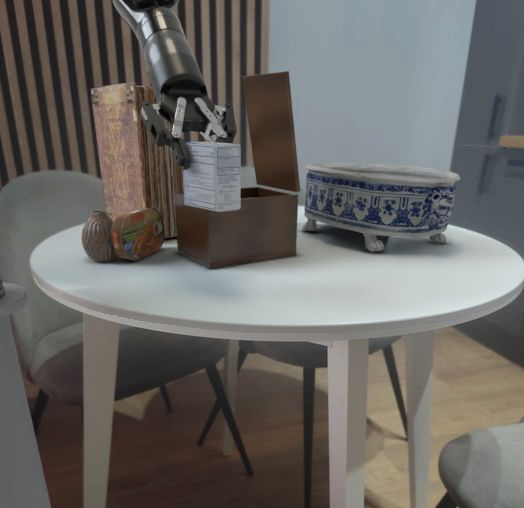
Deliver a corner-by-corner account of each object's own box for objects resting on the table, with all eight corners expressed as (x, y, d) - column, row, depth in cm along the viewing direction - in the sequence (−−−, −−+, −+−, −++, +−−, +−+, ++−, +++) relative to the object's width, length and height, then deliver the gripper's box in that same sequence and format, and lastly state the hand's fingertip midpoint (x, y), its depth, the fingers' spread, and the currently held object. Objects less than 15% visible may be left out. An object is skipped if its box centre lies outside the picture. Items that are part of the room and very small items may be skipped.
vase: (76, 262, 90) (69, 213, 87) (98, 253, 96) (92, 207, 93) (109, 265, 89) (103, 215, 85) (130, 256, 95) (125, 209, 91)
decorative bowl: (270, 226, 122) (272, 161, 116) (352, 216, 135) (357, 158, 129) (397, 266, 90) (408, 179, 84) (489, 249, 103) (505, 173, 96)
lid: (284, 71, 82) (288, 70, 82) (241, 76, 92) (245, 75, 92) (296, 192, 91) (300, 191, 92) (256, 184, 102) (260, 183, 102)
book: (187, 238, 109) (179, 84, 97) (148, 243, 104) (134, 81, 92) (141, 220, 128) (129, 89, 115) (106, 223, 123) (90, 87, 111)
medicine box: (241, 210, 70) (242, 144, 67) (216, 213, 67) (216, 144, 64) (207, 203, 75) (206, 141, 72) (183, 205, 73) (181, 141, 69)
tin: (126, 265, 89) (121, 217, 85) (111, 264, 90) (105, 216, 86) (167, 247, 102) (164, 205, 98) (153, 246, 102) (150, 204, 99)
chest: (210, 269, 87) (207, 202, 82) (177, 252, 98) (173, 192, 93) (296, 255, 97) (298, 194, 92) (258, 241, 107) (258, 186, 102)
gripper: (128, 47, 68) (161, 146, 63) (225, 54, 74) (261, 145, 69) (123, 92, 74) (153, 185, 70) (212, 95, 80) (245, 181, 76)
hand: (207, 165), depth 69 cm, fingers closed on medicine box, 5 cm apart
